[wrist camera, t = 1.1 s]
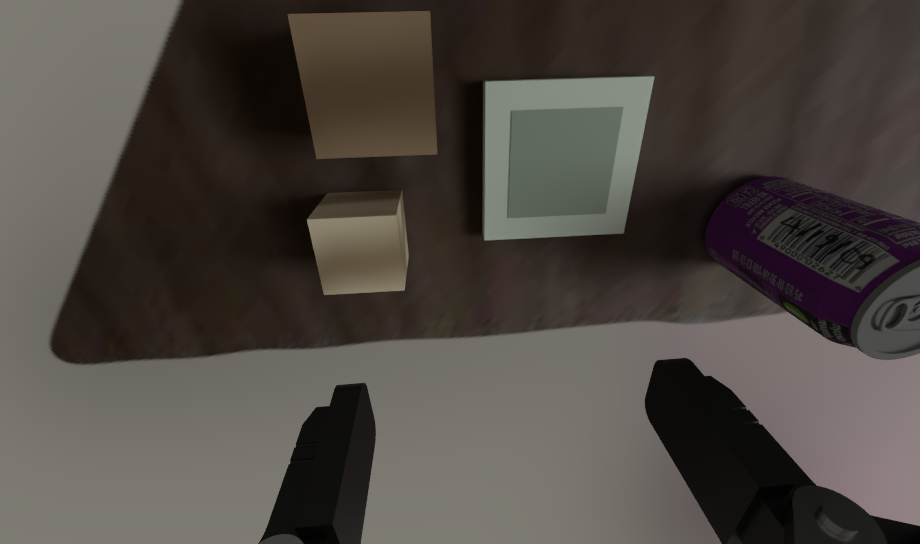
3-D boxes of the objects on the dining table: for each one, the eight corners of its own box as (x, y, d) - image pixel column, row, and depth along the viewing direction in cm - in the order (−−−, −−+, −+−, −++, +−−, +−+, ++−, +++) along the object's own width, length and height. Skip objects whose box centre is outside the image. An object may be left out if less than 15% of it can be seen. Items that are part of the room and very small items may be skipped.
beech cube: (327, 192, 26) (306, 219, 22) (402, 189, 26) (396, 215, 22) (340, 258, 28) (324, 294, 24) (408, 255, 29) (404, 290, 24)
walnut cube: (322, 25, 21) (287, 13, 16) (430, 22, 22) (430, 10, 16) (341, 137, 24) (316, 159, 19) (435, 134, 25) (437, 154, 19)
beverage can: (695, 271, 31) (831, 379, 20) (702, 186, 27) (870, 264, 17) (785, 250, 31) (971, 350, 20) (803, 162, 27) (1039, 227, 17)
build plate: (483, 80, 23) (485, 81, 22) (644, 75, 24) (655, 76, 23) (482, 233, 28) (484, 240, 27) (616, 227, 28) (624, 233, 27)
